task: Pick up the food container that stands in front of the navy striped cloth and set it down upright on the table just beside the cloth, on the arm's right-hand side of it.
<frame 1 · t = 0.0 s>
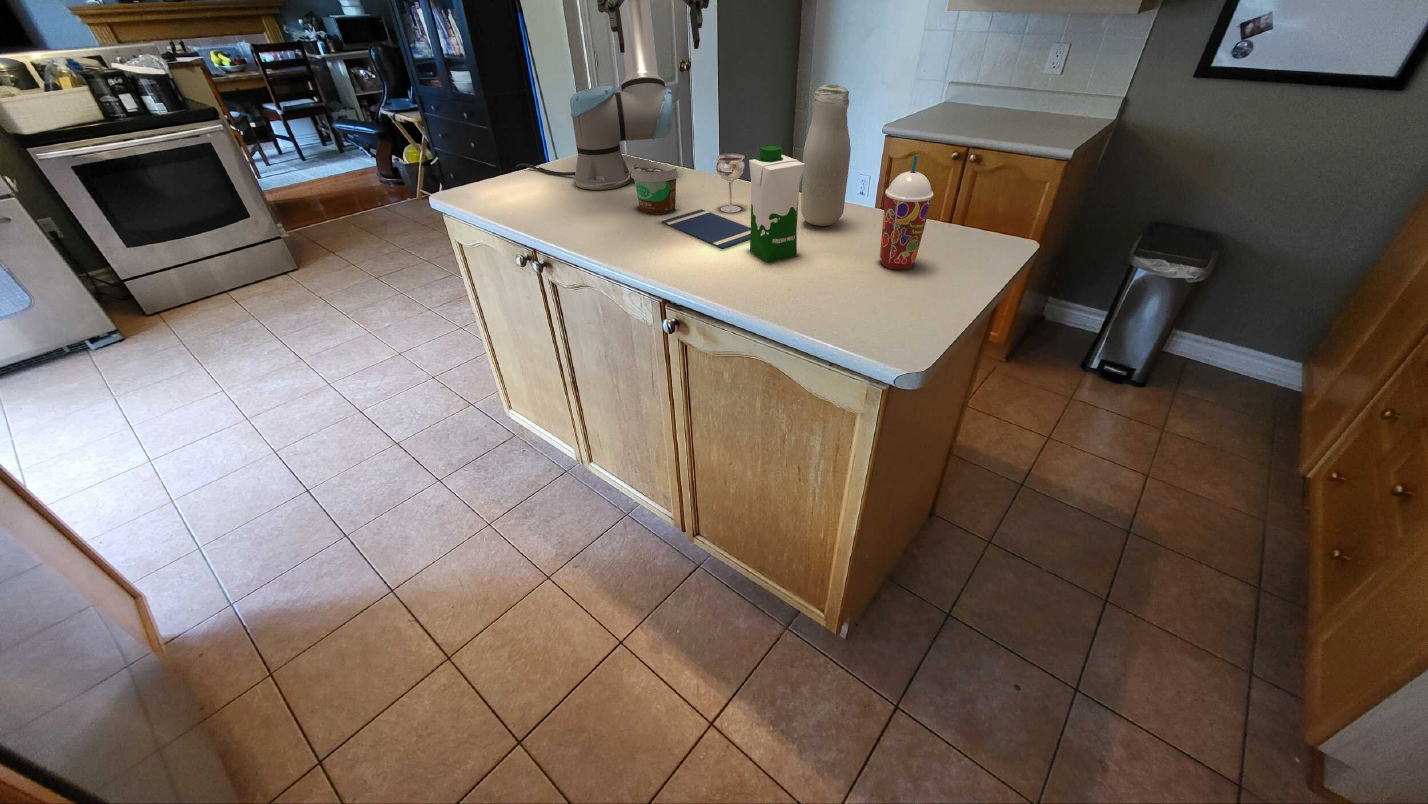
hand: (660, 46, 103), 36 cm above the counter, tool tilted 35°, fingers open, 13 cm apart
smoothie: (896, 264, 111), on the counter
milk carton: (773, 254, 117), on the counter
cloth: (711, 228, 129), on the counter
wineglass: (730, 209, 139), on the counter
glass bottle: (820, 224, 130), on the counter
food container: (652, 212, 139), on the counter
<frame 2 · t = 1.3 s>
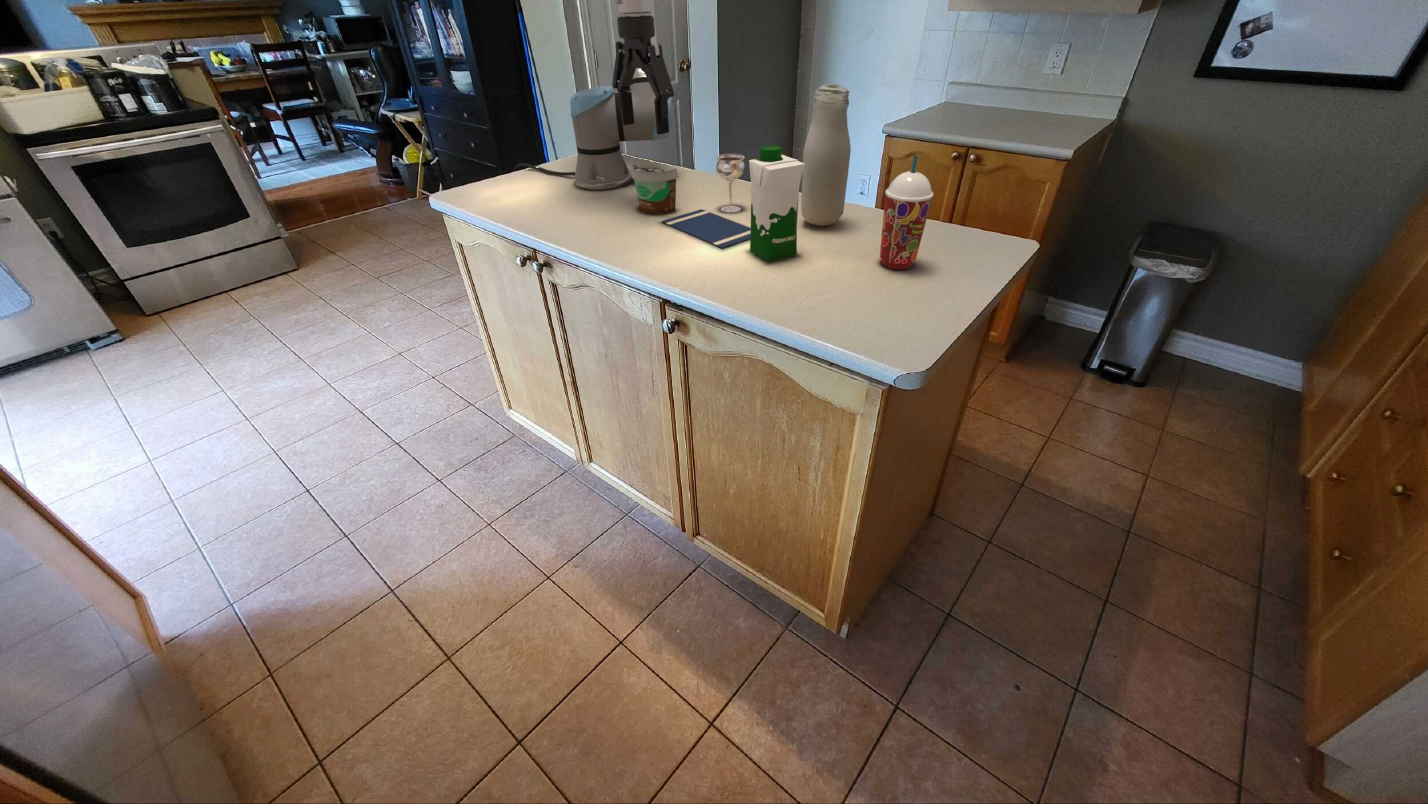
hand: (645, 128, 128), 19 cm above the counter, tool pointing down, fingers open, 13 cm apart
nothing on the counter moved.
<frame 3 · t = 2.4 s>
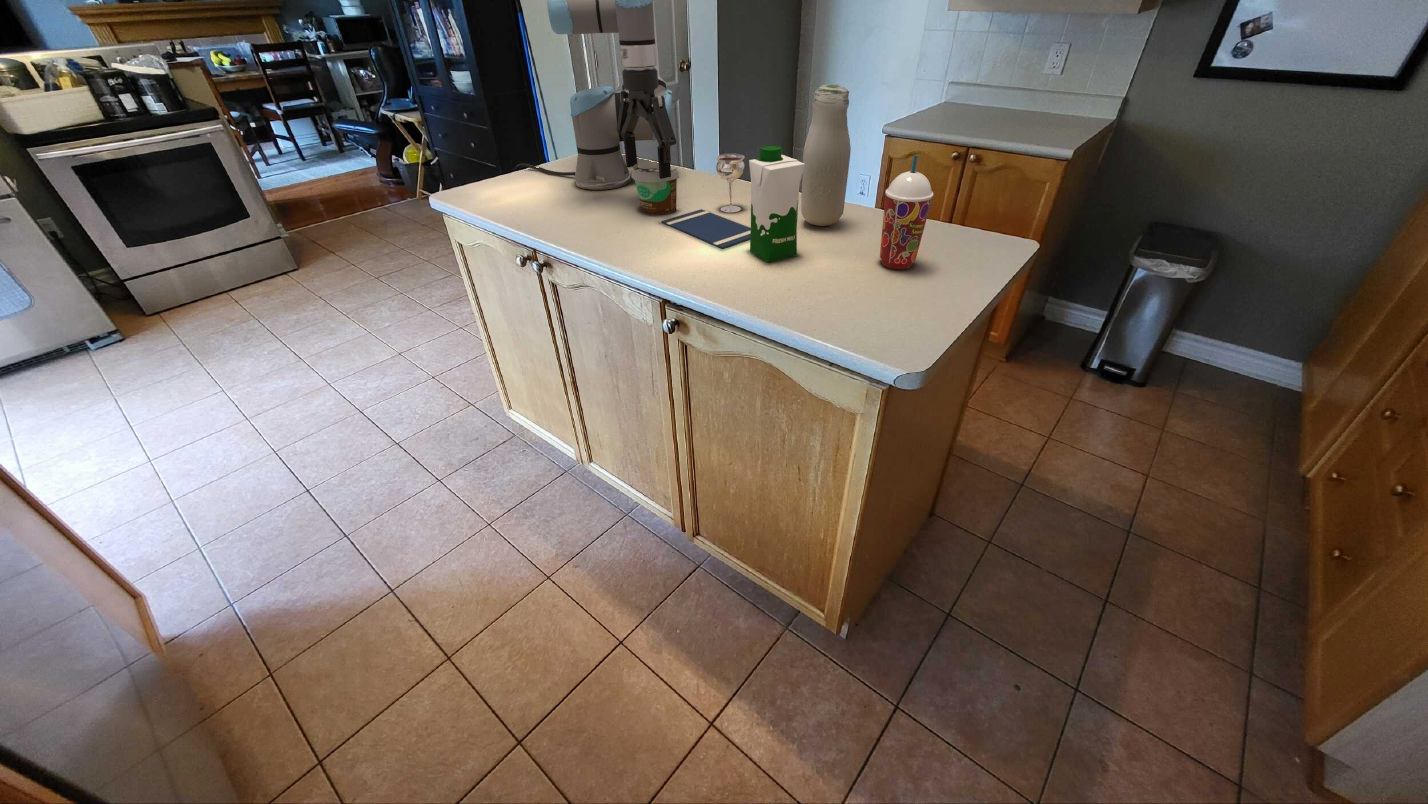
hand: (648, 172, 133), 9 cm above the counter, tool pointing down, fingers open, 13 cm apart
nothing on the counter moved.
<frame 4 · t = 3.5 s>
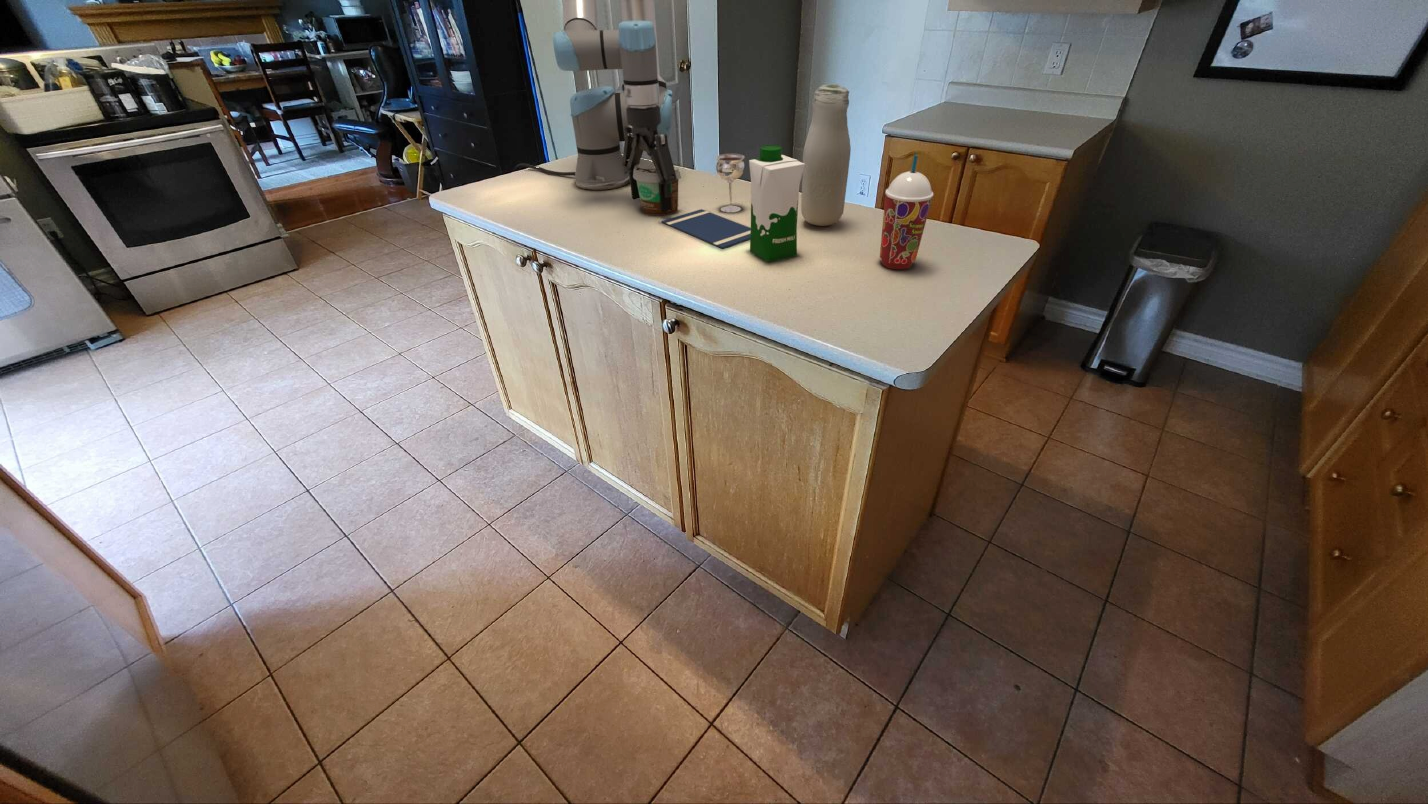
hand: (651, 204, 138), 2 cm above the counter, tool pointing down, fingers closed on food container, 12 cm apart
food container: (654, 213, 139), on the counter, touching gripper
everything else where it was.
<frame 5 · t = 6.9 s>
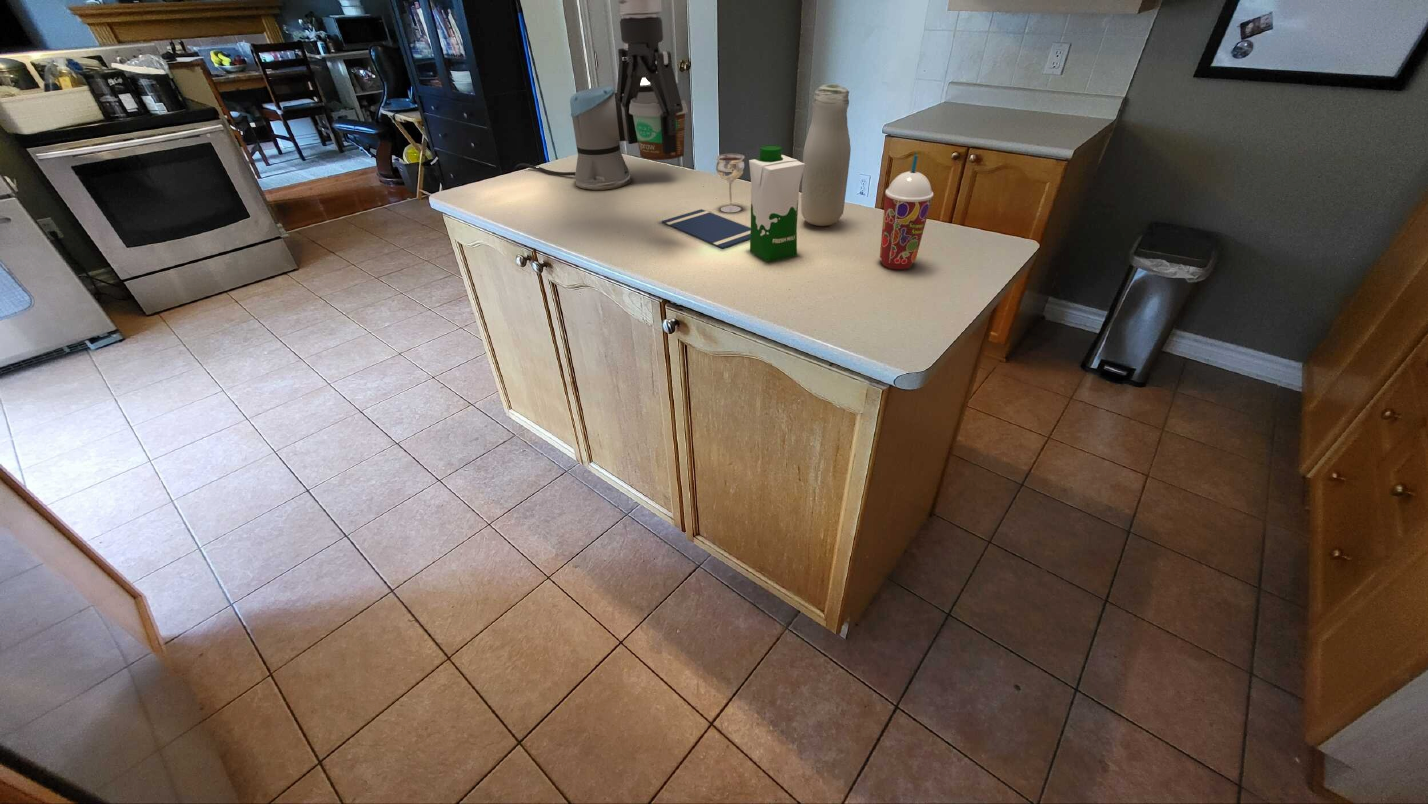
hand: (651, 147, 113), 19 cm above the counter, tool pointing down, fingers closed on food container, 12 cm apart
food container: (656, 158, 114), point 17 cm above the counter, touching gripper
everything else where it was.
when the fingers open (2 cm above the counter, at t = 10.6 s): food container stays where it is, on the counter.
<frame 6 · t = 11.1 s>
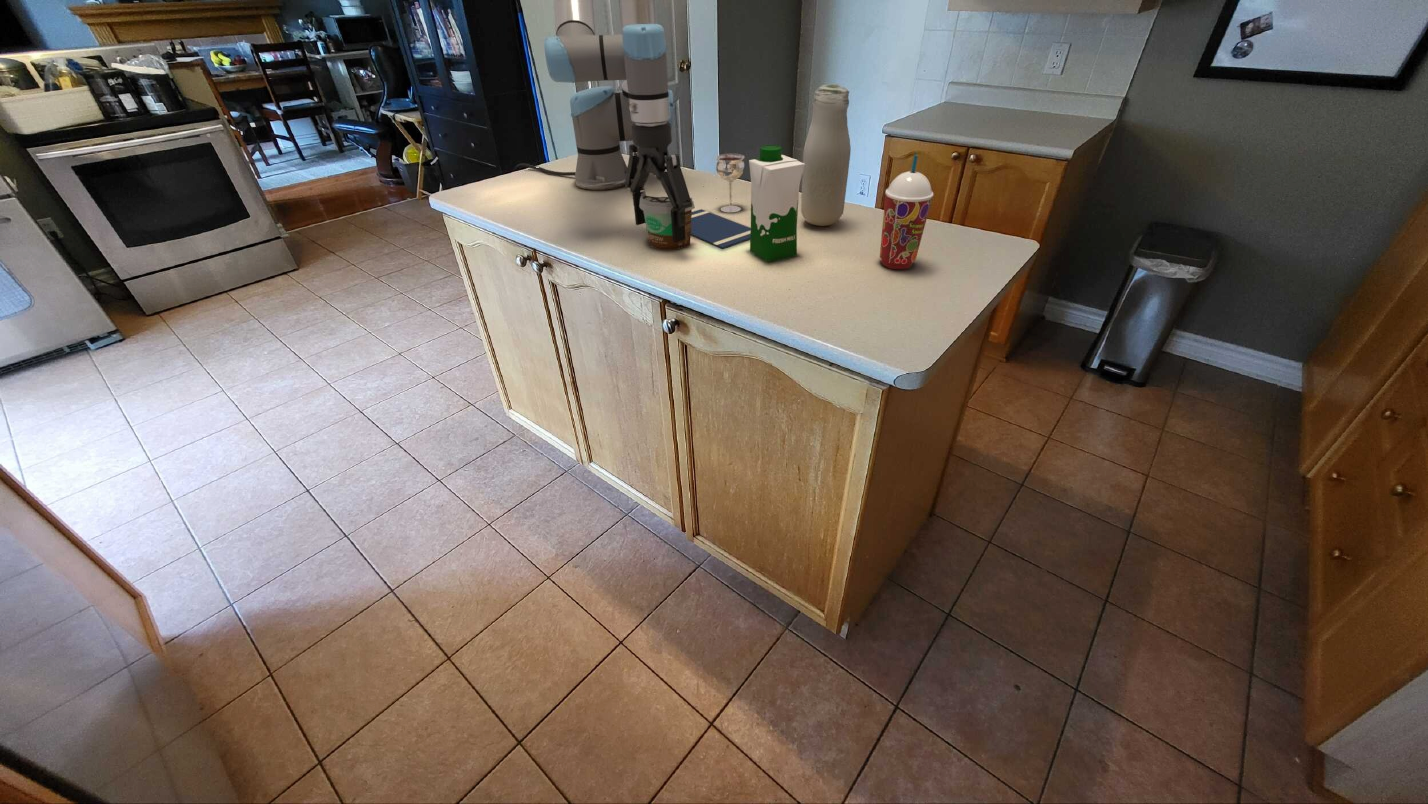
hand: (659, 231, 120), 3 cm above the counter, tool pointing down, fingers open, 13 cm apart
food container: (664, 247, 121), on the counter
everything else where it was.
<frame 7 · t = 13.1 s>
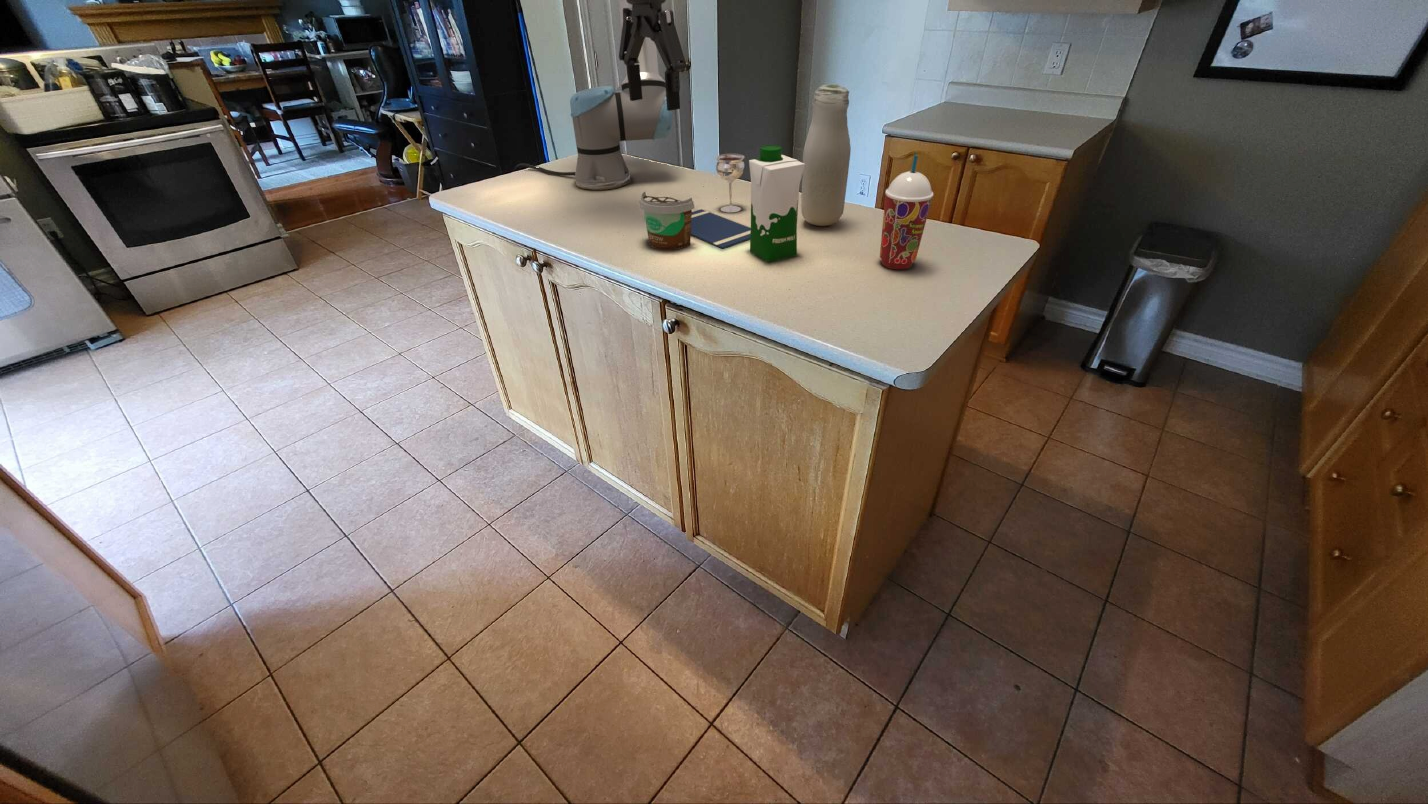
hand: (654, 104, 118), 25 cm above the counter, tool pointing down, fingers open, 13 cm apart
nothing on the counter moved.
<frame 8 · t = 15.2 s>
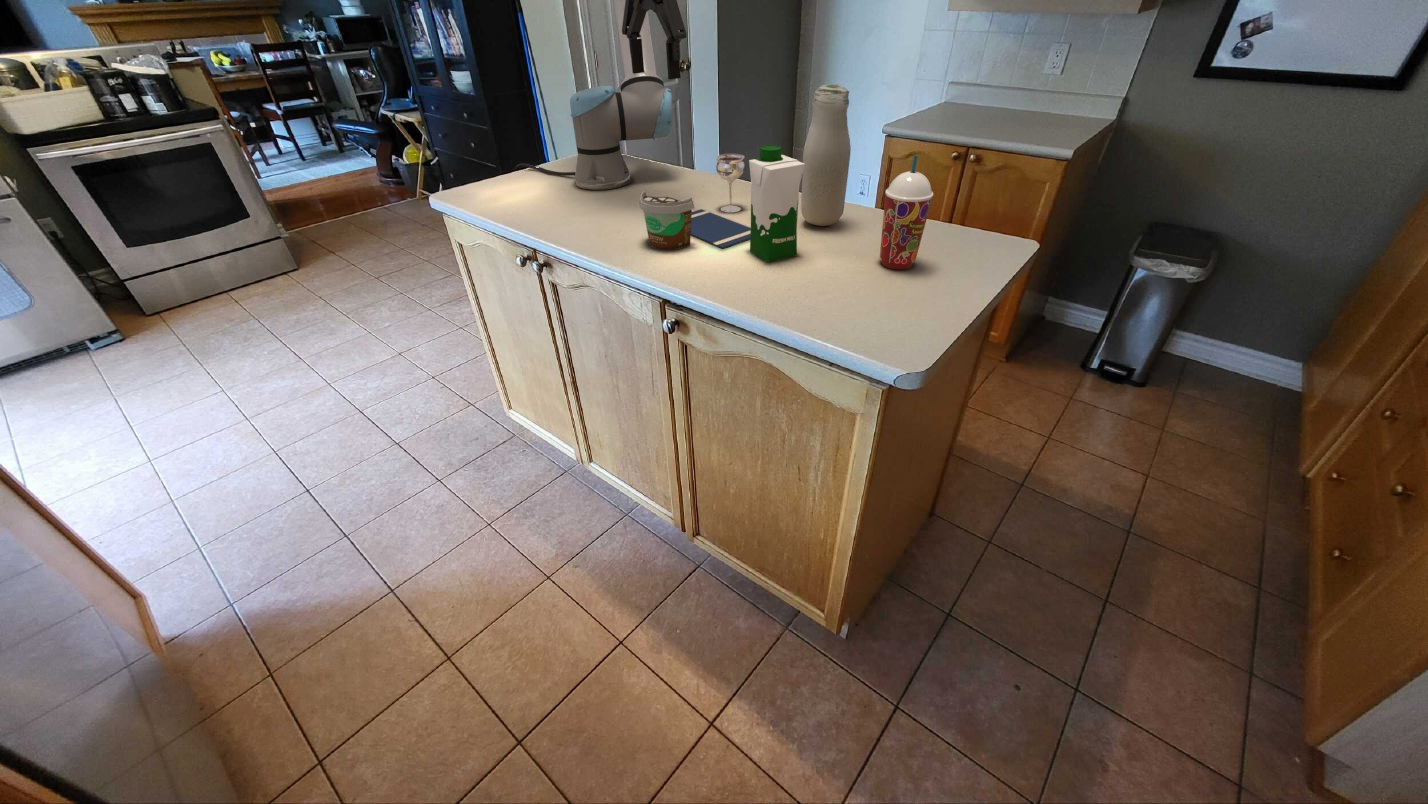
hand: (655, 76, 124), 29 cm above the counter, tool pointing down, fingers open, 13 cm apart
nothing on the counter moved.
at the end: food container inside the target area (1.9 cm from its centre), on the counter; food container tilted 0°; food container touching counter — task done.
